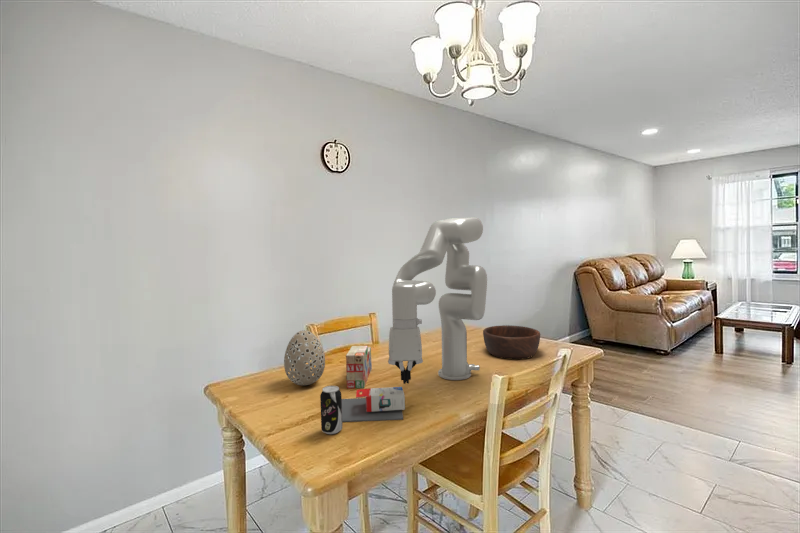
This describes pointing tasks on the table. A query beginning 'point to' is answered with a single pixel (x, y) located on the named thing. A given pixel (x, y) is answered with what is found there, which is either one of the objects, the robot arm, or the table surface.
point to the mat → (365, 412)
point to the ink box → (383, 398)
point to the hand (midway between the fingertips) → (405, 382)
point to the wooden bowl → (511, 341)
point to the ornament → (304, 358)
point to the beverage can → (331, 410)
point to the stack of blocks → (358, 366)
